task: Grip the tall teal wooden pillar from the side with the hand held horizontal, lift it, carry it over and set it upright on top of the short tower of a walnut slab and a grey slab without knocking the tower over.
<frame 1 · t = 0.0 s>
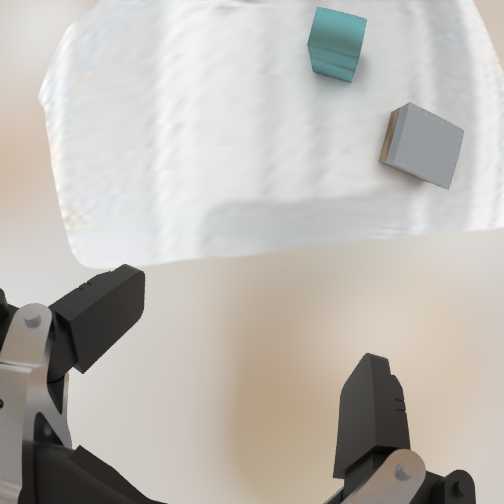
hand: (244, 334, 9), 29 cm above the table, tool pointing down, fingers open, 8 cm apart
teal pillar: (336, 60, 28), on the table
walnut slab: (409, 146, 29), on the table, touching grey slab
grey slab: (419, 146, 26), point 4 cm above the table, touching walnut slab
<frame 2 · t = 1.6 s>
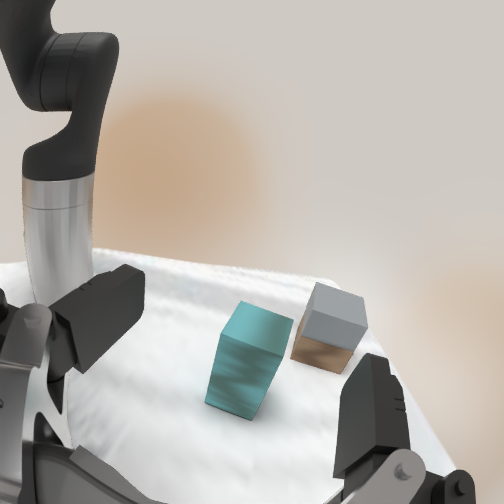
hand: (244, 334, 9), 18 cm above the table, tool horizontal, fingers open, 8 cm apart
teal pillar: (235, 394, 26), on the table
walnut slab: (317, 350, 36), on the table, touching grey slab
grey slab: (328, 327, 34), point 4 cm above the table, touching walnut slab
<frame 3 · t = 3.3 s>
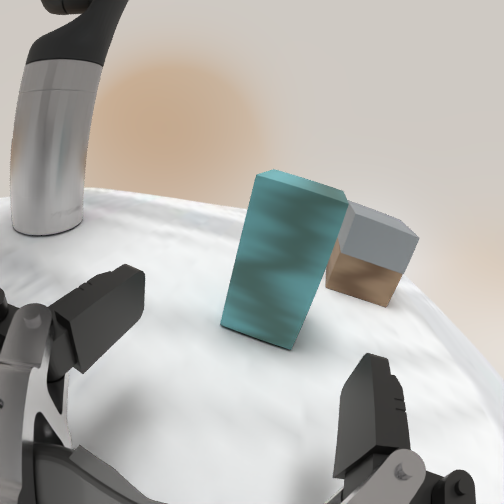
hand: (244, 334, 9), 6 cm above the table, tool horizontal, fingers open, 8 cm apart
teal pillar: (263, 317, 20), on the table
walnut slab: (354, 282, 30), on the table, touching grey slab
grey slab: (368, 251, 28), point 4 cm above the table, touching walnut slab
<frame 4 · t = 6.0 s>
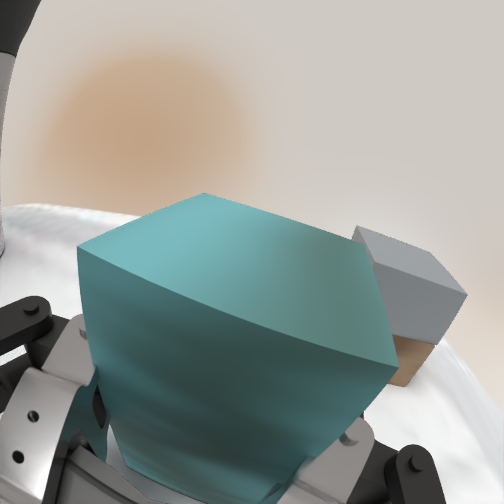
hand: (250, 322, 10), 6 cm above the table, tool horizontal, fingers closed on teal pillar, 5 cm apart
teal pillar: (203, 450, 10), on the table, touching gripper
walnut slab: (361, 346, 19), on the table, touching grey slab
grey slab: (385, 305, 18), point 4 cm above the table, touching walnut slab
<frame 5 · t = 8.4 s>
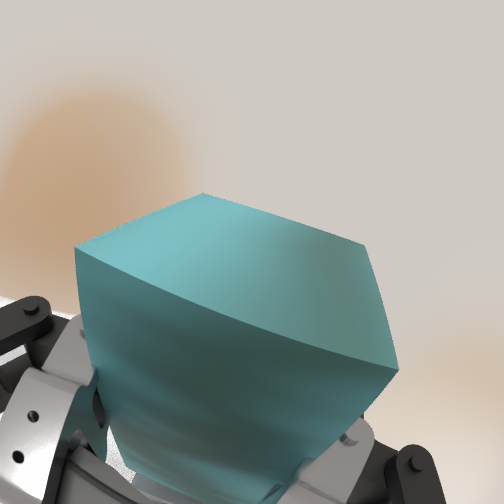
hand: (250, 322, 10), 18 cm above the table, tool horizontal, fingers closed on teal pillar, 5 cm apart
teal pillar: (202, 451, 10), point 12 cm above the table, touching gripper
grey slab: (202, 478, 14), point 4 cm above the table, touching walnut slab
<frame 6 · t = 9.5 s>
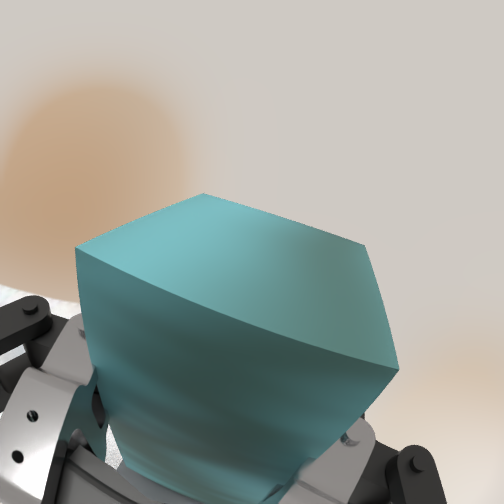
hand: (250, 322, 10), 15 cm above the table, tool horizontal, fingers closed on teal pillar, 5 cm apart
teal pillar: (203, 451, 10), point 9 cm above the table, touching gripper
grey slab: (198, 477, 12), point 4 cm above the table
when the fingers open (15 cm above the table, at t = 9.5 s): teal pillar drops 2 cm, resting on grey slab.
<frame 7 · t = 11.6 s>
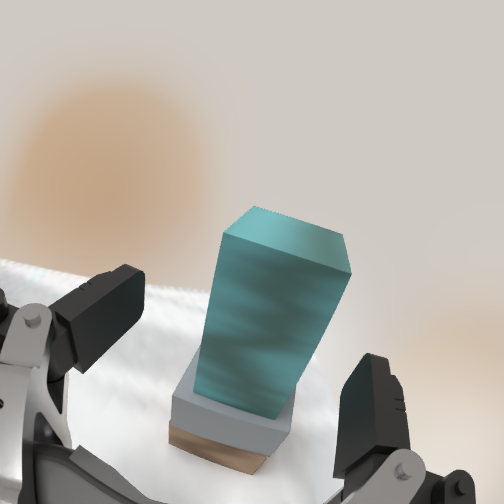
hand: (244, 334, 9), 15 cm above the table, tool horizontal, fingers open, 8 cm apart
teal pillar: (244, 378, 16), point 8 cm above the table, touching grey slab
walnut slab: (223, 429, 20), on the table, touching grey slab
grey slab: (232, 406, 18), point 4 cm above the table, touching teal pillar, walnut slab
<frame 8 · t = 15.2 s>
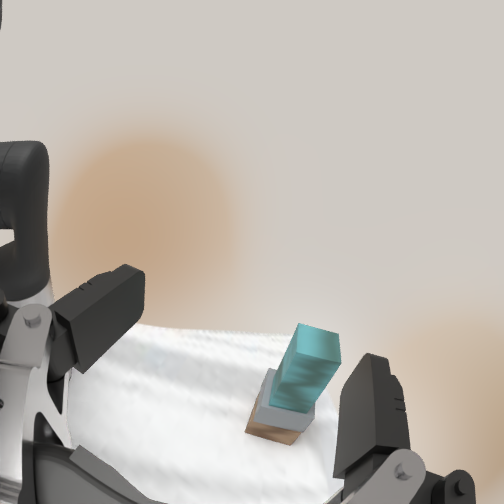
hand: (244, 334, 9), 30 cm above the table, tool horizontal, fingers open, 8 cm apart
teal pillar: (289, 395, 32), point 8 cm above the table, touching grey slab
walnut slab: (272, 421, 36), on the table
grey slab: (281, 408, 34), point 4 cm above the table, touching teal pillar
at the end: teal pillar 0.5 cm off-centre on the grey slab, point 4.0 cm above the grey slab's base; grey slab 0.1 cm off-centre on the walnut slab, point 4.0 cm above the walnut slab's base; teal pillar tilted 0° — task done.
